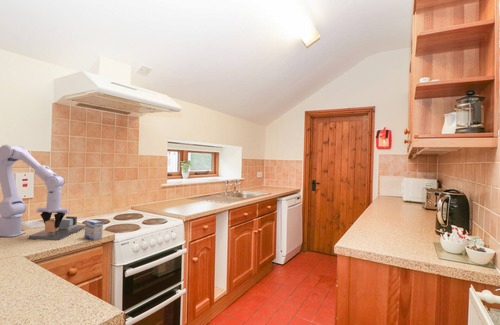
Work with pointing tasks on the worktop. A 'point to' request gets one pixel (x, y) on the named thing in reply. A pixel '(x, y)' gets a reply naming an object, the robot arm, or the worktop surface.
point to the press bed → (57, 233)
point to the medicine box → (93, 229)
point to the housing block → (50, 226)
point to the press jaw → (67, 222)
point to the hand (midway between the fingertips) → (52, 227)
